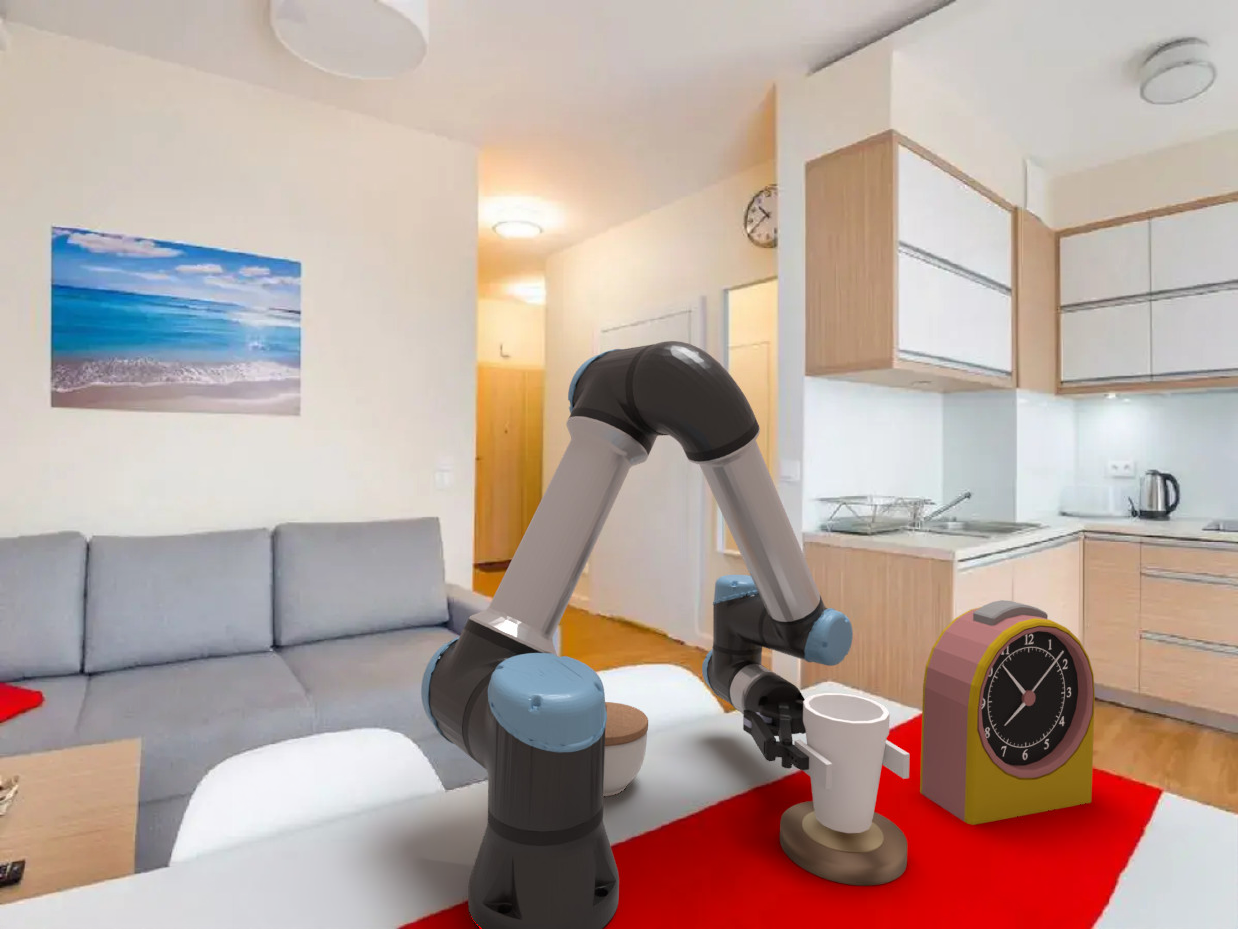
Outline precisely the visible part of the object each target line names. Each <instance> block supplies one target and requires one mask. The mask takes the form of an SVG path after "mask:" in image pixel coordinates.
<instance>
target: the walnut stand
mask: <svg viewBox="0 0 1238 929" xmlns="http://www.w3.org/2000/svg"><path fill="white" fill-rule="evenodd" d="M814 812H815V810H814V805H813V800H811V801H805V802H804V801H803V802H800V803H797V804H794V805H791V807H788V808H787V809H786V810H785V811H783V813H782V815H781V818H780V822H779V823H780V824H779V826H780V827H779V842H780V843H779V844H780V846H781V848H782V851H783V852H784V853H785V854H786V856H787V857H788V858H789V859H790V860H791V862H793V863H795V864H796V865H797V866H799V868H802V869H803V870H805V871H807V872H809V873H811V874H812V875H815V876H817V877H820V878H822V879H825V880H829V881H830V882H831V881H832V882H835V883H840V884H845V885H852V886H878V885H882V884H887V883H889V882H890V883H891V882H892V881H895V880H896V879H898V878H900V877H901V876H902V875H903V874H904V872H905V871H906V868H907V863H908V840H907V837H906V836H905V834H904V832H903V831H902V830H901V828H899V826H897V825H896V824H895V823H894V822H893V821H891V820H890V819H889V818H887V817H885V816H883V815H882V814H880V813H878V812H875V811H874V815H873V819H872V824H871V826H870V828H869V830H866V831H863V832H861V833H845V832H840V831H835V830H832V829H830V828H828V827H826V826H824V825H822V824H821V823H820V822H819V821H818V820H817V819H816V817H815V813H814Z"/></svg>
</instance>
